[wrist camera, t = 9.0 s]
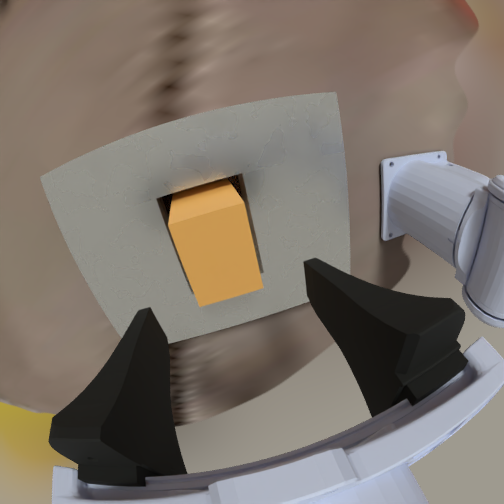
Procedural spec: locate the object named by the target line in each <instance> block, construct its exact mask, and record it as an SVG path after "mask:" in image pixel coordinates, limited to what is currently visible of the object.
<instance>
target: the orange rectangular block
mask: <svg viewBox="0 0 504 504" xmlns="http://www.w3.org/2000/svg"><path fill="white" fill-rule="evenodd" d="M168 226H169V229H170V232H171V235H172V238H173V240H174V243H175V246H176V248H177V251H178V254H179V256H180V259H181V262H182V264H183V267H184V269H185V272H186V275H187V277H188V280H189V282H190V285H191V287H192V290H193V292H194V294H195V297H196V299H197V302H198V304H199V306H200V307H202V306H205V305H209V304H212V303H216V302H219V301H223V300H226V299H230V298H233V297H236V296H240V295H243V294H246V293H249V292H253V291H256V290H259V289H262V288H263V283H262V279H261V274H260V270H259V265H258V261H257V257H256V252H255V248H254V243H253V239H252V234H251V230H250V225H249V221H248V217H247V212H246V208H245V203H244V201H243V200H242V199H241V197H240V196H239V194H238V193H237V191H236V190H235V188H234V187H233V186H232V184H231V183H230V181H229V180H228V178H226V179H222V180H219V181H215V182H211V183H208V184H204V185H201V186H197V187H194V188H191V189H187V190H184V191H181V192H178V193H174V194H173V196H172V202H171V208H170V215H169V222H168Z"/></svg>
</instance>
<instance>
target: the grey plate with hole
mask: <svg viewBox="0 0 504 504" xmlns="http://www.w3.org/2000/svg"><path fill="white" fill-rule="evenodd" d="M234 175H237V176H238V181H239V185H240V189H241V194H242V198H243V201H244V203H245V208H246V212H247V217H248V221H249V225H250V230H251V234H252V239H253V243H254V248H255V252H256V257H257V261H258V265H259V270H260V274H261V279H262V283H263V288H262V289H259V290H256V291H253V292H249V293H246V294H243V295H240V296H236V297H233V298H230V299H226V300H223V301H219V302H216V303H212V304H209V305H205V306H202V307H200V306H199V304H198V302H197V299H196V297H195V294H194V292H193V290H192V287H191V285H190V282H189V280H188V277H187V275H186V272H185V269H184V267H183V264H182V262H181V259H180V256H179V254H178V251H177V248H176V246H175V243H174V240H173V238H172V235H171V232H170V229H169V226H168V222H169V215H168V213H167V210H166V207H165V204H164V201H163V198H162V196H165V195H168V194H172V193H175V192H178V191H181V190H184V189H188V188H191V187H194V186H198V185H201V184H205V183H208V182H212V181H215V180H219V179H223V178H226V177H230V176H234ZM40 179H41V182H42V185H43V188H44V190H45V193H46V196H47V199H48V201H49V204H50V206H51V209H52V211H53V214H54V216H55V219H56V221H57V223H58V226H59V228H60V230H61V232H62V235H63V237H64V239H65V241H66V243H67V245H68V247H69V249H70V252H71V254H72V256H73V258H74V260H75V262H76V263H77V265H78V267H79V269H80V271H81V273H82V275H83V277H84V278H85V280H86V282H87V284H88V286H89V287H90V289H91V291H92V293H93V294H94V296H95V298H96V299H97V301H98V303H99V304H100V306H101V308H102V309H103V311H104V312H105V314H106V316H107V317H108V319H109V320H110V322H111V323H112V325H113V326H114V328H115V329H116V331H117V332H118V334H119V335H120V337H121V338H122V337H123V335H124V334H125V332H126V330H127V329H128V327H129V325H130V323H131V322H132V320H133V318H134V316H135V315H136V313H137V312H138V310H141V309H144V308H148V307H151V309H152V311H153V313H154V315H155V317H156V318H157V320H158V322H159V324H160V326H161V327H162V329H163V331H164V332H165V334H166V336H167V339H168V344H169V343H173V342H177V341H181V340H185V339H189V338H193V337H196V336H200V335H204V334H207V333H211V332H215V331H218V330H222V329H225V328H229V327H232V326H235V325H239V324H242V323H245V322H249V321H252V320H255V319H258V318H261V317H265V316H268V315H271V314H274V313H277V312H280V311H283V310H286V309H289V308H292V307H295V306H298V305H301V304H304V303H306V302H309V299H308V297H307V292H306V282H305V272H304V264H303V261H306V260H309V259H312V258H318V259H320V260H322V261H324V262H326V263H328V264H329V265H331V266H333V267H335V268H337V269H339V270H341V271H343V272H345V273H347V274H350V224H349V203H348V187H347V174H346V163H345V153H344V144H343V136H342V128H341V121H340V114H339V107H338V101H337V95H336V92H328V93H316V94H305V95H296V96H288V97H281V98H274V99H267V100H261V101H255V102H250V103H244V104H239V105H234V106H230V107H225V108H221V109H216V110H212V111H208V112H204V113H200V114H196V115H193V116H189V117H185V118H182V119H178V120H175V121H172V122H168V123H165V124H162V125H159V126H156V127H153V128H150V129H147V130H144V131H141V132H138V133H136V134H133V135H130V136H127V137H125V138H122V139H120V140H117V141H115V142H112V143H110V144H107V145H105V146H102V147H100V148H98V149H96V150H93V151H91V152H89V153H87V154H84V155H82V156H80V157H78V158H76V159H74V160H72V161H70V162H68V163H66V164H64V165H62V166H60V167H58V168H56V169H54V170H52V171H50V172H48V173H47V174H45V175H43V176H41V177H40Z"/></svg>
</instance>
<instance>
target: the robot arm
mask: <svg viewBox="0 0 504 504" xmlns="http://www.w3.org/2000/svg"><path fill="white" fill-rule="evenodd" d="M390 162H391V165H389V164H390ZM381 185H382V225H381V238H382V239H383V240H384V241H387V240H390V239H393V238H395V237H398V236H401V235H404V234H406V233H407V234H408V235H410V236H411V237H413V238H414V239H416V240H417V241H419V242H420V243H422V244H423V245H425V246H426V247H427V248H429V249H430V250H432V251H433V252H435V253H436V254H437V255H439V256H440V257H441V258H443V259H444V260H445V261H447V262H448V263H450V264H451V265H452V266H453V267H455V268H456V274H455V278H456V279H457V280H458V281H459V282H461V283H462V284H463V287H462V295H463V299H464V301H465V303H466V305H467V306H468V308H469V309H470V311H471V312H472V313H473V314H474V315H475V316H476V317H477V318H478V319H479V320H481V321H482V322H484V323H486V324H487V325H490V326H493V327H499V328H504V175H497V176H496V177H495V178H493V179H489V178H488V177H486V176H485V175H482V174H479V173H477V172H475V171H472V170H469V169H467V168H464V167H461V166H459V165H456V164H453V163H451V162H448V161H447V154H446V152H444V151H437V152H429V153H421V154H414V155H407V156H401V157H394V158H388V159H384V160H382V162H381ZM389 234H390V235H389ZM303 264H304V272H305V282H306V292H307V297H308V299H309V301H310V303H311V305H312V307H313V309H314V311H315V313H316V314H317V316H318V317H319V319H320V320H321V321H322V323H323V324H324V326H325V327H326V329H327V330H328V332H329V333H330V335H331V336H332V337H333V339H334V340H335V342H336V343H337V345H338V346H339V348H340V349H341V351H342V353H343V355H344V356H345V358H346V360H347V362H348V364H349V366H350V368H351V370H352V372H353V374H354V376H355V378H356V380H357V383H358V385H359V387H360V389H361V392H362V394H363V396H364V398H365V401H366V403H367V406H368V408H369V411H370V413H371V416H372V418H371V419H369V420H367V421H365V422H363V423H360V424H358V425H356V426H354V427H352V428H350V429H348V430H345V431H343V432H341V433H339V434H336V435H334V436H331V437H329V438H327V439H324V440H321V441H319V442H316V443H314V444H311V445H308V446H306V447H302V448H300V449H297V450H294V451H291V452H287V453H284V454H281V455H278V456H275V457H271V458H267V459H264V460H260V461H256V462H252V463H247V464H243V465H239V466H234V467H229V468H224V469H219V470H212V471H206V472H200V473H191V474H187V471H186V468H185V465H184V462H183V459H182V456H181V452H180V448H179V444H178V440H177V436H176V431H175V426H174V421H173V415H172V409H171V400H170V354H169V346H168V339H167V336H166V334H165V332H164V331H163V329H162V327H161V326H160V324H159V322H158V320H157V318H156V317H155V315H154V313H153V311H152V309H151V307H148V308H144V309H141V310H138V312H137V313H136V315H135V316H134V318H133V320H132V322H131V323H130V325H129V327H128V329H127V330H126V332H125V334H124V335H123V337H122V339H121V341H120V342H119V344H118V345H117V347H116V349H115V350H114V352H113V353H112V355H111V357H110V358H109V360H108V361H107V363H106V364H105V365H104V367H103V368H102V369H101V371H100V372H99V373H98V375H97V376H96V377H95V378H94V379H93V380H92V382H91V383H90V384H89V385H88V386H87V387H86V388H85V390H84V391H83V392H82V393H81V394H80V395H79V396H78V397H77V398H75V399H74V400H73V401H72V402H71V403H70V404H69V405H68V406H66V407H65V408H64V409H63V410H61V411H60V412H59V413H58V414H56V415H55V416H54V417H53V418H52V424H51V429H50V436H49V443H50V445H51V447H52V448H53V449H54V450H56V451H57V452H58V453H60V454H61V455H63V456H65V457H67V458H68V459H70V460H72V461H74V462H75V463H77V464H78V470H77V469H73V468H68V467H61V466H54V468H53V483H52V504H429V503H428V501H427V499H426V497H425V495H424V494H423V492H422V490H421V488H420V486H419V485H418V483H417V481H416V479H415V477H414V476H413V474H412V472H411V470H410V469H409V466H410V465H412V464H413V463H415V462H416V461H418V460H419V459H421V458H422V457H424V456H425V455H427V454H428V453H429V452H431V451H432V450H434V449H435V448H436V447H438V446H439V445H440V444H442V443H443V442H444V441H445V440H447V439H448V438H449V437H450V436H451V435H453V434H454V433H455V432H457V431H458V430H459V429H460V428H461V427H462V426H464V425H465V424H466V423H467V422H468V421H469V420H470V419H471V418H472V417H474V416H475V415H476V414H477V413H478V412H479V411H480V410H481V409H482V408H483V407H484V406H485V405H486V404H487V403H488V402H489V401H490V400H491V399H492V398H493V397H494V396H495V394H496V393H497V392H498V391H499V390H500V389H501V387H502V386H503V385H504V359H503V358H502V357H501V356H500V355H499V354H498V353H497V351H496V350H495V349H494V348H493V347H492V346H491V345H490V344H489V343H488V342H487V341H486V340H485V339H484V337H480V338H479V339H478V340H477V341H475V342H474V343H473V344H472V345H471V346H469V347H468V348H467V349H466V350H465V352H464V353H463V354H462V353H461V352H460V351H459V349H460V347H461V346H460V344H459V343H458V342H457V341H456V340H457V338H458V335H459V333H460V331H461V328H462V326H463V324H464V321H465V312H464V310H463V309H462V308H461V307H460V306H459V305H457V303H455V302H454V301H453V300H452V299H451V298H433V297H424V296H416V295H410V294H405V293H401V292H397V291H393V290H389V289H386V288H383V287H379V286H376V285H373V284H371V283H368V282H366V281H363V280H361V279H358V278H356V277H354V276H352V275H350V274H347V273H345V272H343V271H341V270H339V269H337V268H335V267H333V266H331V265H329V264H328V263H326V262H324V261H322V260H320V259H318V258H312V259H309V260H306V261H303Z"/></svg>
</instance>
